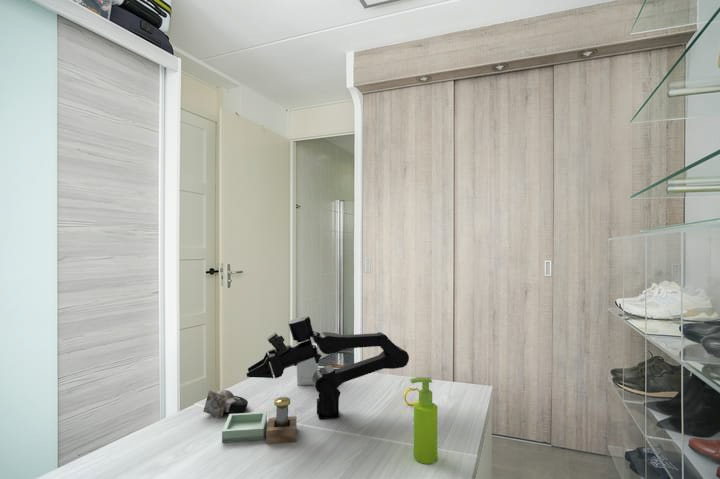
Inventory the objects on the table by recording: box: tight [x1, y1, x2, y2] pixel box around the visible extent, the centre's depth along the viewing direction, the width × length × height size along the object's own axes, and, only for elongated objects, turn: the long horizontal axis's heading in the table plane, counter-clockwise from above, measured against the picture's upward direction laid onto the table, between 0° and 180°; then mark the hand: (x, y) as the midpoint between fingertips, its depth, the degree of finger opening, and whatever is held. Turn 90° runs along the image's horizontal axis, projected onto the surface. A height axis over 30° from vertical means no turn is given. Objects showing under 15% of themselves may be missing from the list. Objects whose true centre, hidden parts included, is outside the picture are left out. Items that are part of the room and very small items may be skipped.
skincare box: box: [296, 342, 320, 386], centre depth 152 cm, size 8×6×15 cm
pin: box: [273, 396, 291, 427], centre depth 109 cm, size 4×4×10 cm
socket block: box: [265, 415, 298, 445], centre depth 109 cm, size 8×8×4 cm
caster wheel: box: [203, 389, 249, 419], centre depth 125 cm, size 7×11×10 cm
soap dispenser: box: [409, 376, 438, 465], centre depth 98 cm, size 6×7×20 cm
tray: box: [221, 411, 268, 443], centre depth 111 cm, size 11×11×3 cm
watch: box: [403, 385, 420, 406], centre depth 132 cm, size 6×3×6 cm, turn 98°
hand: (247, 372), depth 116 cm, fingers open, 9 cm apart
